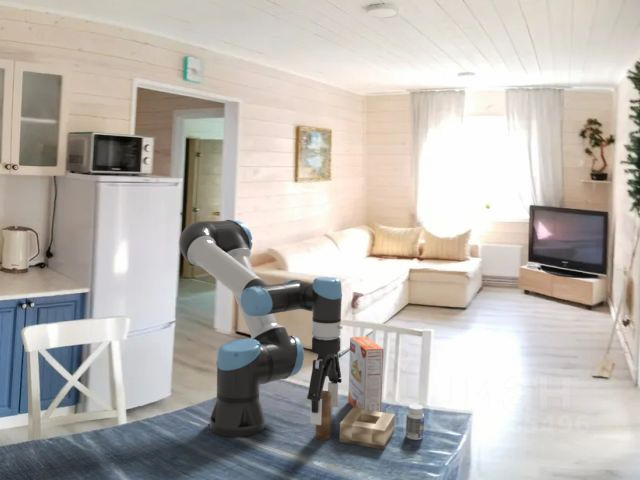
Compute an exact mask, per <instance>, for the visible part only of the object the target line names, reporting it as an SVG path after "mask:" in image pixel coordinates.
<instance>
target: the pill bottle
mask: <svg viewBox="0 0 640 480" xmlns="http://www.w3.org/2000/svg"><path fill="white" fill-rule="evenodd" d="M405 422H406V424H405V436H406V438H407V439H409V440H414V441H418V440H422V439H423V438H424V431H425V430H424V429H425V427H424V426H425V414H424V406H423V405H422V404H417V403H411V404H409V405H408V411H407V413H406V421H405Z"/></svg>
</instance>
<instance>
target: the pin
mask: <svg viewBox="0 0 640 480" xmlns="http://www.w3.org/2000/svg"><path fill="white" fill-rule="evenodd" d="M321 399H322V416H321V425H316V424H315V433H314V434H315V436H314V437H315V438H316V440H321V441H327V440H329V439H331V425H332V406H331V401H332V393H331V392H329V391H328V390H322V394H321Z"/></svg>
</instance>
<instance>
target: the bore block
mask: <svg viewBox="0 0 640 480" xmlns="http://www.w3.org/2000/svg"><path fill="white" fill-rule="evenodd" d="M395 417H396V414H395V413H390V412H389V413H387V412H382V411H381V412H378V411H371V410H365V409H359V408H354V407H352V408H351V410H349V411H348V413H347V414H346V416H344V418H343V419H342V421H340V422H339V439H338V440H339V442H340V443H345V444H352V445H357V446H362V447H368V448H371V449H372V448H373V449H379V450H385V449H386V446H387V445H388V443H389V441H390V440H391V438H392V436H393V434H394V432H395V419H396V418H395Z"/></svg>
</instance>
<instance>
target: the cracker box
mask: <svg viewBox="0 0 640 480" xmlns="http://www.w3.org/2000/svg"><path fill="white" fill-rule="evenodd" d="M348 367H349V368H348V395H347V396H348V397H347V398H348V403H349V404H350V405H351V407H352V408H359V409H365V410H371V411H378V412H382V399H383V374H384V373H383V372H384V371H383V369H384V349H383V348H382V346H380V345H378V344H377V343H376V342H374V341H373V340H372V339H370V338H369V337H368V336H352V337H350V338H349V364H348Z"/></svg>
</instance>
